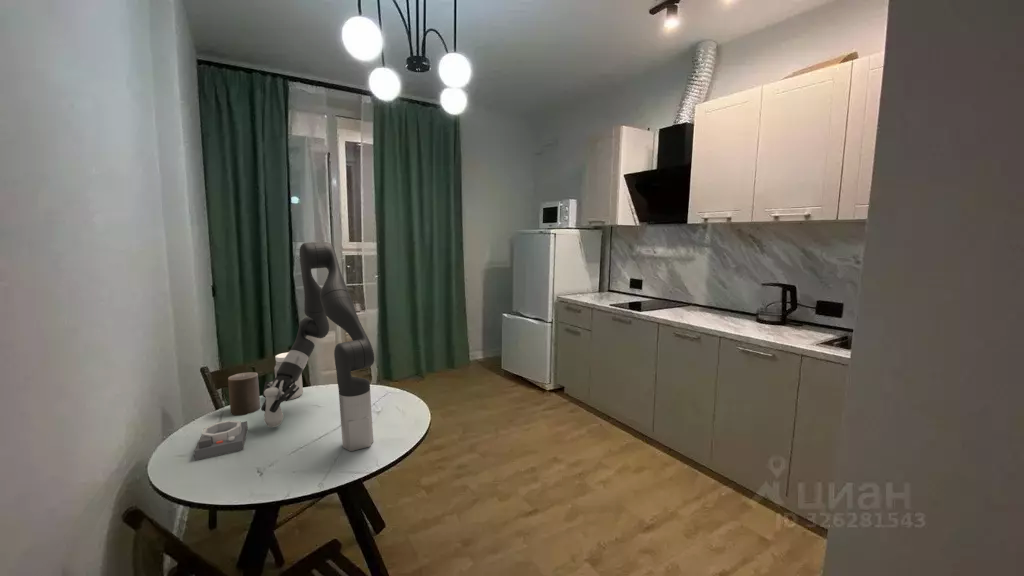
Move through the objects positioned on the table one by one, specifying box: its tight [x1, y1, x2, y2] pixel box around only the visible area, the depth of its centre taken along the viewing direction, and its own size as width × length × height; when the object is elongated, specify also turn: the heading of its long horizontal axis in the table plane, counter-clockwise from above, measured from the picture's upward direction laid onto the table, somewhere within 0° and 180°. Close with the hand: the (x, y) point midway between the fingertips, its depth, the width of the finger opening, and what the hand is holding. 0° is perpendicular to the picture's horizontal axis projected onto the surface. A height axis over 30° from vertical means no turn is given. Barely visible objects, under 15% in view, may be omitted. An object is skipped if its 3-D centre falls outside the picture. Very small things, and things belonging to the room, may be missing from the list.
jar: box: [273, 351, 304, 401], centre depth 169 cm, size 10×10×18 cm
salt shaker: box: [263, 387, 284, 428], centre depth 140 cm, size 6×6×13 cm
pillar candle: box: [227, 372, 261, 416], centre depth 156 cm, size 10×10×15 cm
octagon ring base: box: [193, 419, 249, 461], centre depth 131 cm, size 16×12×6 cm
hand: (267, 411), depth 138 cm, fingers closed on salt shaker, 3 cm apart
